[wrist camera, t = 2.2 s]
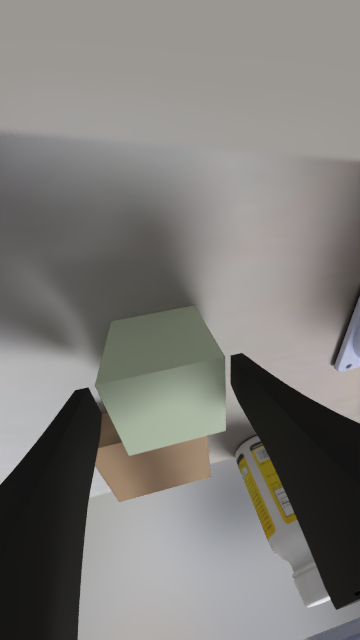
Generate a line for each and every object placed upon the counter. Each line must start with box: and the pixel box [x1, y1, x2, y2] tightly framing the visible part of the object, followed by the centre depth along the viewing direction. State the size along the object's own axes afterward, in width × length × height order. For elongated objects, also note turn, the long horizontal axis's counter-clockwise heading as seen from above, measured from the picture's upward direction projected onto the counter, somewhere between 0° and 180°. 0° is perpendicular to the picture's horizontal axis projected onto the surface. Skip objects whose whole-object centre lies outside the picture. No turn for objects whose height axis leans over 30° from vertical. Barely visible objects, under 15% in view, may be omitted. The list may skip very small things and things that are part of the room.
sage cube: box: [95, 305, 226, 456], centre depth 11 cm, size 5×5×5 cm
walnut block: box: [95, 412, 211, 502], centre depth 16 cm, size 8×8×3 cm
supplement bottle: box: [235, 436, 331, 607], centre depth 17 cm, size 5×5×10 cm
